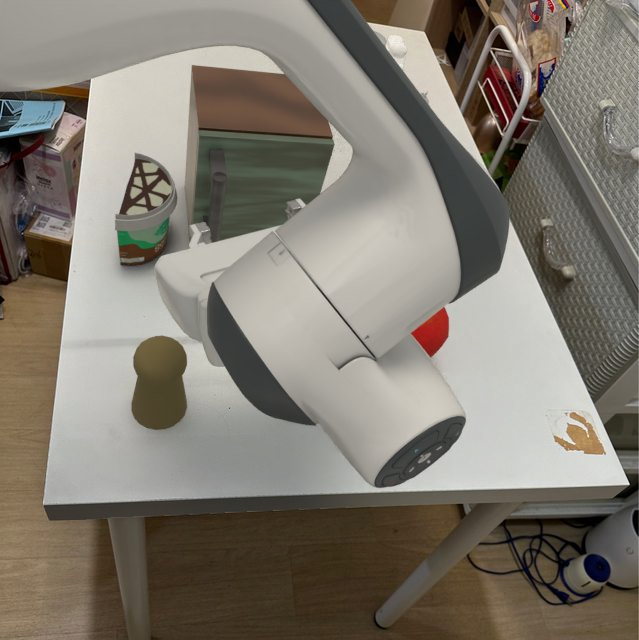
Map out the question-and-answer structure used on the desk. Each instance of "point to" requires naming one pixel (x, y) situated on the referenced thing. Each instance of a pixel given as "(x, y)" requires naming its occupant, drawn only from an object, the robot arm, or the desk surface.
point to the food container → (145, 212)
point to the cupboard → (245, 111)
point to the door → (254, 179)
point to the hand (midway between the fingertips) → (245, 217)
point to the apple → (433, 332)
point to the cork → (159, 383)
